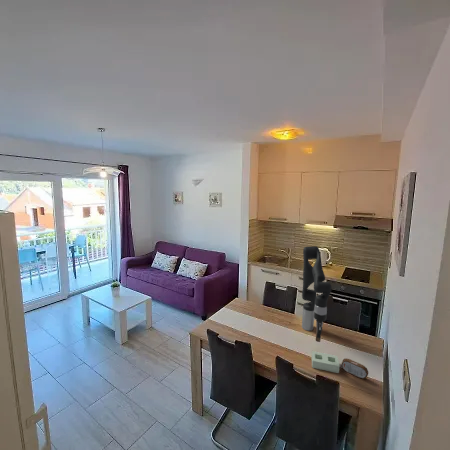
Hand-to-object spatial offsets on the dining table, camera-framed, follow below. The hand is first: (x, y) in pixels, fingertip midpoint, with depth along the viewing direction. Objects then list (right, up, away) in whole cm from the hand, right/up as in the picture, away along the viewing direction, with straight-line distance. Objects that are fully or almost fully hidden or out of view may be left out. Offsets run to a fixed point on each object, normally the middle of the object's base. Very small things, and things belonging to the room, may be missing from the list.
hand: (318, 336), depth 164 cm
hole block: (+5, -20, +2) cm, 20 cm away
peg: (0, -3, +1) cm, 3 cm away
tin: (+20, -22, -6) cm, 30 cm away
